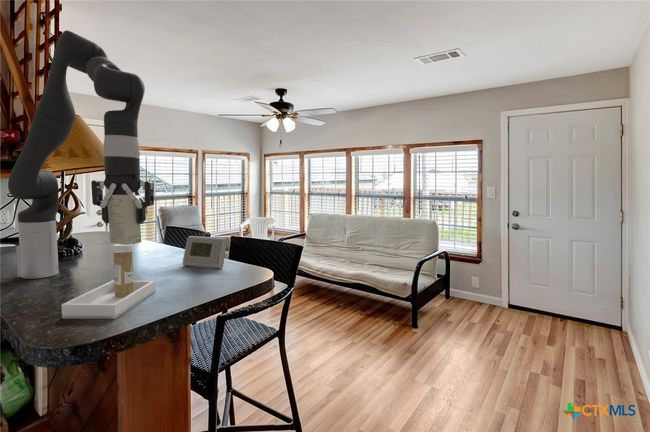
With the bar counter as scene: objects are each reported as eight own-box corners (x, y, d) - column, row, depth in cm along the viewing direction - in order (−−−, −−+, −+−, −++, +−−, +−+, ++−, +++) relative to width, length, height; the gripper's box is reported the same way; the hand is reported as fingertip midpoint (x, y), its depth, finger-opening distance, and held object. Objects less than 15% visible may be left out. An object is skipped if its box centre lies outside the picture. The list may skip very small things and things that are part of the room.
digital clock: (179, 266, 129) (179, 237, 128) (198, 261, 137) (197, 234, 136) (214, 271, 122) (214, 241, 121) (231, 266, 130) (231, 237, 129)
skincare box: (141, 243, 89) (140, 194, 88) (125, 245, 85) (124, 194, 84) (124, 240, 92) (122, 193, 91) (107, 243, 88) (106, 194, 87)
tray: (62, 318, 79) (61, 304, 78) (112, 291, 98) (112, 280, 98) (115, 318, 79) (114, 305, 79) (155, 291, 98) (155, 280, 98)
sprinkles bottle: (135, 295, 93) (133, 244, 92) (114, 298, 90) (113, 246, 89) (133, 291, 97) (131, 242, 96) (113, 293, 94) (112, 243, 93)
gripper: (81, 154, 82) (85, 224, 84) (145, 155, 83) (147, 225, 85) (100, 156, 90) (103, 221, 91) (158, 157, 91) (160, 222, 92)
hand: (124, 223), depth 88 cm, fingers closed on skincare box, 7 cm apart
